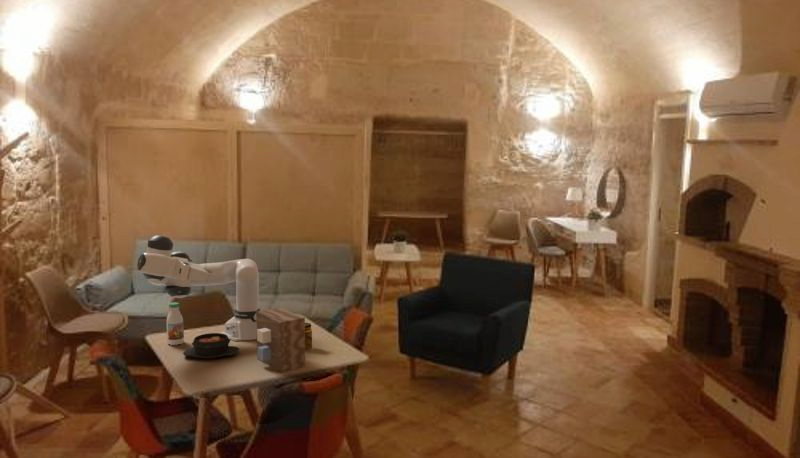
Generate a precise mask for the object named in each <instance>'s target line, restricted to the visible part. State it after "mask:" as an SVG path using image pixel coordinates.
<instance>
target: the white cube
mask: <svg viewBox="0 0 800 458" xmlns="http://www.w3.org/2000/svg"><path fill="white" fill-rule="evenodd" d="M257 341H259V342H261V343H267V342H271V330H270V329H268V328H263V329H257V339H256V342H257Z"/></svg>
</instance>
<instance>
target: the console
mask: <svg viewBox="0 0 800 458" xmlns="http://www.w3.org/2000/svg"><path fill="white" fill-rule="evenodd" d="M305 319H306V317H304V316H301V315H298V314H296V313H295V312H292V311H289V310H287V309H284V308H282V307H276V308H270V309H265V310H260V311H258V312H256V320H257V329H263V328H268V329H270V330H271V342H267V343H261V342H259V341H257V340H256V354H257V355H256V356H257V357H256V358H257V360H258V361H260V362H262V363H263V364H265V365H268V366H269V367H271V368H272V369H274V370H276V371H278V373H279V372H280V373H285V372H288V371H292V370H293V371H294V370H297V369H300V368H304V367H306V351H305V323H306V320H305ZM266 345H267V346H269V347H271V349H272V359H271V360H267V361H262V360H260V359H258V348H257V347H261V346H266Z"/></svg>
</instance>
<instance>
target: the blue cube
mask: <svg viewBox="0 0 800 458" xmlns="http://www.w3.org/2000/svg"><path fill="white" fill-rule="evenodd" d="M257 348H258V359H260V360H262V361H267V360H271V359H272V349H271V347H269V346H267V345H266V346H261V347H257V346H256V349H257ZM258 359H257V360H258ZM260 360H259V361H260ZM262 361H261V362H262Z"/></svg>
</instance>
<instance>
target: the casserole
mask: <svg viewBox="0 0 800 458" xmlns="http://www.w3.org/2000/svg"><path fill="white" fill-rule="evenodd" d="M230 342H231V339H229V338H228V336H227V335H225V334H221V332H219V333H218V332H211V333H209V332H208V333H204V334H200V335H197V336H195V337H194V339H193V341H192V342H191V345H192V347H188V348H186V349H185V350H184V351H183V353H182V354H183V355H184V356H185V357H193V358H198V359H199V358H200V359H202V360H203V359H207V360H209V359H211V360H212V359H218V358H220V357H228V356H233V355H235V354H238V352H239V351H240V348H239V347H238V346H235V345H229V344H230Z"/></svg>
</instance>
